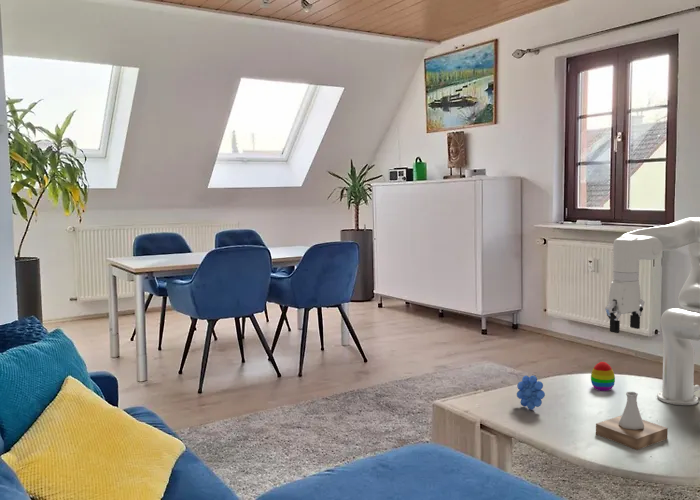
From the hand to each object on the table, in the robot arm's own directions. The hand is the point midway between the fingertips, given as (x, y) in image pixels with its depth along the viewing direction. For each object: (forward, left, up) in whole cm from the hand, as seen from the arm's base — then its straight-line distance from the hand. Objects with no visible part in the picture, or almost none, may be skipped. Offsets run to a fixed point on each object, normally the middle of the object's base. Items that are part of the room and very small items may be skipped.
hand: (624, 330), depth 207 cm
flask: (+12, +12, -25) cm, 30 cm away
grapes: (+19, -21, -28) cm, 40 cm away
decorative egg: (-17, -22, -28) cm, 40 cm away
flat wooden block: (+12, +12, -29) cm, 34 cm away
